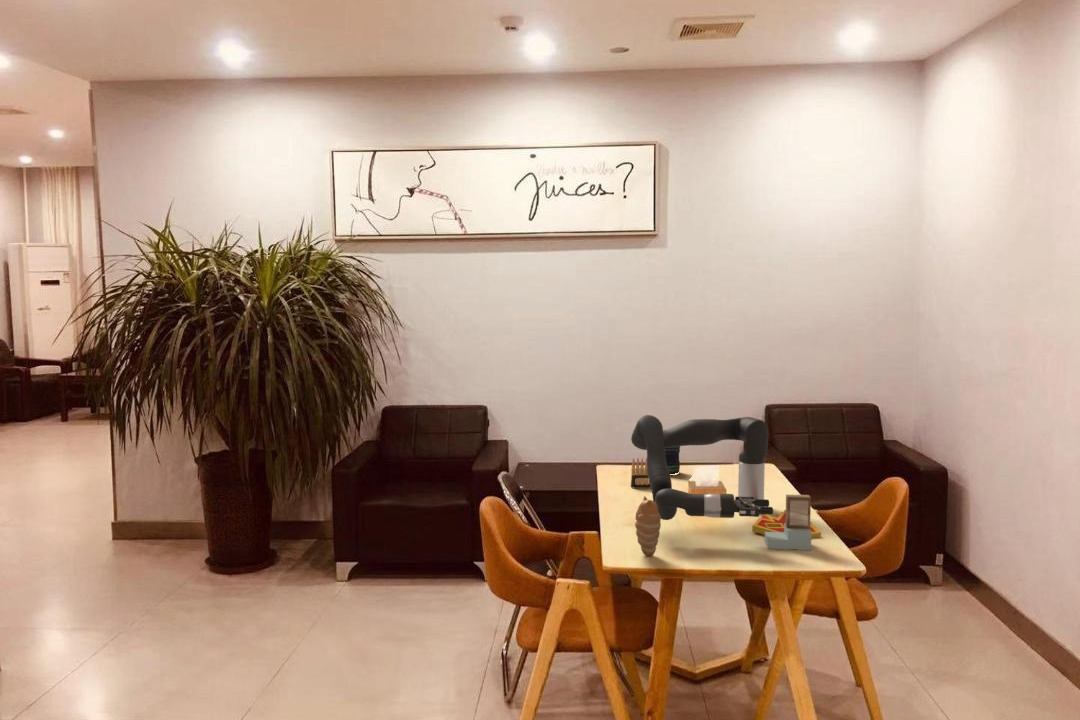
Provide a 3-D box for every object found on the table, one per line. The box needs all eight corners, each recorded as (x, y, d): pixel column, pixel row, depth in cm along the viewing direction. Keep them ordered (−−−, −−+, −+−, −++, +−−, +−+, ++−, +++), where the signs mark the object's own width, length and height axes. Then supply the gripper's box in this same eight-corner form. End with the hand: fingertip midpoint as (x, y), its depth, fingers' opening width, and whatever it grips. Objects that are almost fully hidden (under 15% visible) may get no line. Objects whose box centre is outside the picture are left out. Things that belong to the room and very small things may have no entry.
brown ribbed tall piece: (631, 552, 265) (631, 495, 263) (655, 550, 266) (655, 493, 265) (640, 561, 256) (641, 502, 254) (665, 559, 258) (666, 501, 256)
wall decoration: (823, 518, 301) (823, 505, 300) (820, 545, 272) (820, 531, 272) (760, 513, 308) (760, 501, 308) (750, 540, 280) (750, 526, 279)
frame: (785, 525, 271) (786, 494, 270) (808, 526, 271) (808, 495, 270) (787, 528, 268) (787, 497, 267) (810, 529, 267) (810, 497, 266)
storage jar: (668, 469, 376) (668, 436, 374) (684, 473, 368) (685, 439, 366) (651, 472, 370) (652, 438, 368) (667, 477, 362) (668, 442, 360)
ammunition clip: (631, 487, 344) (631, 458, 343) (630, 486, 346) (630, 457, 345) (657, 487, 345) (658, 458, 343) (656, 486, 347) (657, 457, 345)
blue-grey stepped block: (764, 540, 275) (764, 522, 275) (806, 542, 273) (806, 523, 273) (767, 548, 267) (768, 530, 267) (810, 550, 266) (811, 531, 265)
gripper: (716, 510, 279) (767, 512, 277) (720, 523, 265) (773, 525, 263) (716, 488, 278) (768, 489, 276) (720, 500, 264) (774, 501, 262)
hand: (770, 506), depth 270 cm, fingers open, 8 cm apart
